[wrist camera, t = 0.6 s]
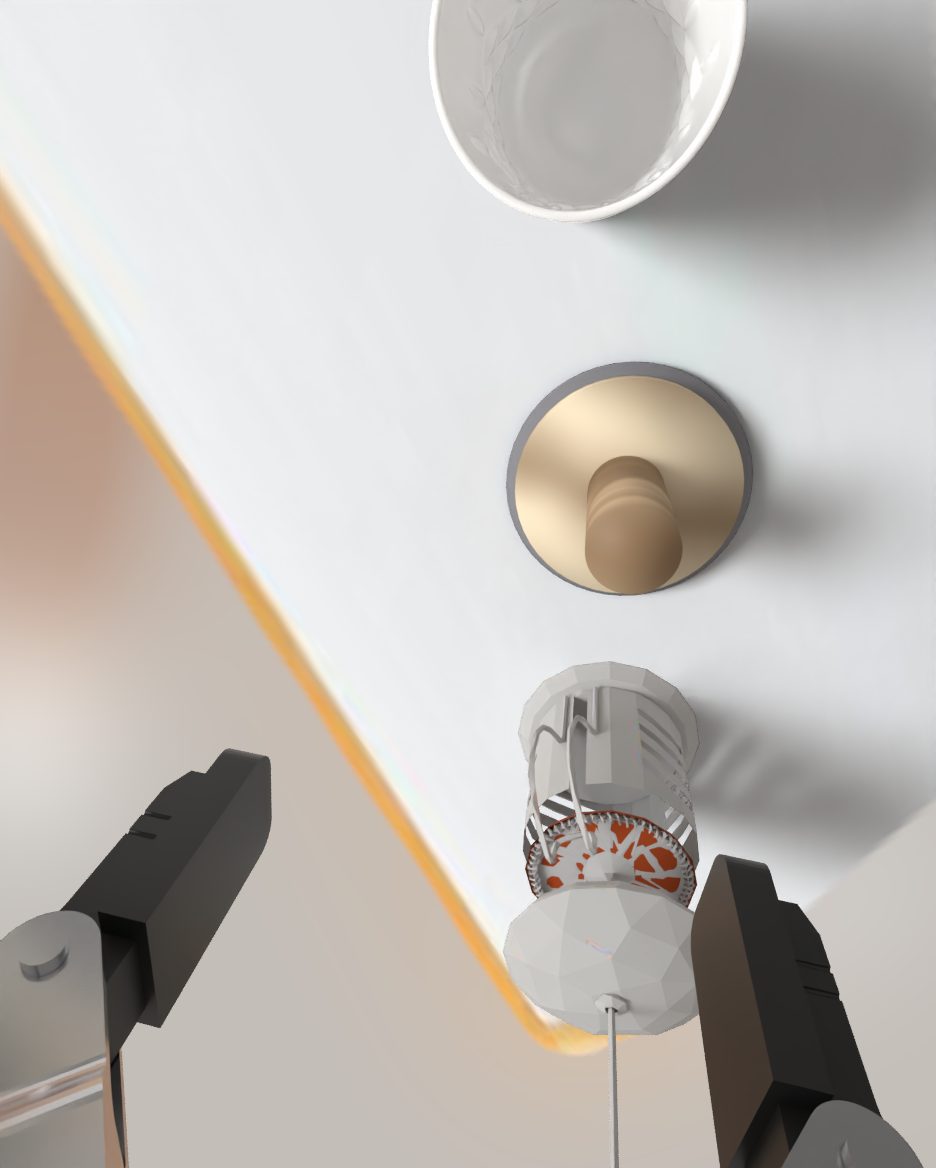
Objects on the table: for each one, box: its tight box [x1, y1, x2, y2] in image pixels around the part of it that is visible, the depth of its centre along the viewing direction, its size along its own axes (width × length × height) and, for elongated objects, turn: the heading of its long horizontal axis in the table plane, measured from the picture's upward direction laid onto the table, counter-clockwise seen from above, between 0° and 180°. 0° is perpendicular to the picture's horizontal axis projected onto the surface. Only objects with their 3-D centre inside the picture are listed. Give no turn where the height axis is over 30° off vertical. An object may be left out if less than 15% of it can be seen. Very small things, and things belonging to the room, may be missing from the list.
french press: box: [503, 662, 699, 1168], centre depth 26 cm, size 10×12×25 cm
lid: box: [515, 375, 744, 594], centre depth 28 cm, size 10×10×8 cm
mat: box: [506, 362, 753, 596], centre depth 31 cm, size 11×11×1 cm
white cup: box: [429, 0, 748, 223], centre depth 22 cm, size 8×8×10 cm
